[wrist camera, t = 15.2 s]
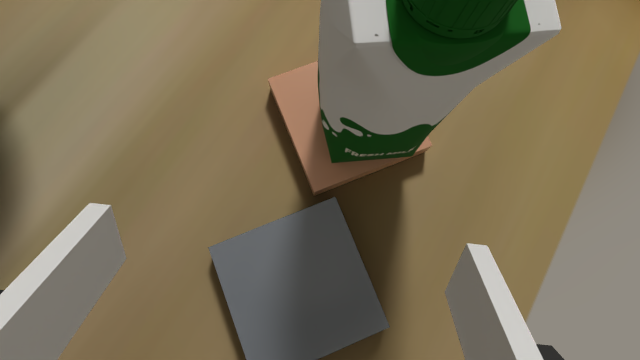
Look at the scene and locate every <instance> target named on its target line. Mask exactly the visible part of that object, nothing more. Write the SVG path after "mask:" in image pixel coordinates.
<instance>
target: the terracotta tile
mask: <svg viewBox="0 0 640 360" xmlns="http://www.w3.org/2000/svg"><path fill="white" fill-rule="evenodd" d="M268 82H269V86H270V89H271V92H272V94H273V97H274V99H275V102H276V104H277V107H278V109H279V112H280V114H281V117H282V119H283V121H284V124H285V126H286V129H287V131H288V134H289V136H290V139H291V141H292V144H293V146H294V148H295V151H296V153H297V156H298V158H299V161H300V163H301V166H302V168H303V171H304V173H305V176H306V178H307V180H308V183H309V185H310V188H311V190H312V193H313V195H314V196H315V195H318V194H320V193H323V192H325V191H328V190H330V189H333V188H336V187H338V186H341V185H343V184H346V183H348V182H351V181H353V180H356V179H358V178H361V177H363V176H366V175H368V174H371V173H373V172H376V171H378V170H381V169H383V168H386V167H388V166H391V165H393V164H396V163H399V162H401V161H404V160H406V159H409V158H411V157H400V158H388V159H376V160H364V161H351V162H339V163H331V158H330V154H329V150H328V146H327V142H326V138H325V134H324V130H323V126H322V119H321V112H320V104H319V94H318V61H316V62H313V63H311V64H308V65H305V66H302V67H299V68H297V69H294V70H291V71H288V72H285V73H282V74H280V75H277V76H274V77H271V78H268ZM431 146H432V143H431V141H430V139H429V137H428V136H427V137H426V139H425V140H424V141H423V143H422V144H421V145H420V147H419V148H418V149H417V151H416V152H415V153H414V155H413V156H412V157H414V156H416V155H419V154H421V153H424V152H426V151H427V150H428V149H429V148H430V147H431Z"/></svg>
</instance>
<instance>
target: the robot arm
mask: <svg viewBox="0 0 640 360" xmlns="http://www.w3.org/2000/svg"><path fill="white" fill-rule="evenodd" d="M125 260H126V256H125V252H124V249H123V245H122V242H121V238H120V235H119V231H118V228H117V225H116V221H115V218H114V214H113V211H112V207H111V205H105V204H95V203H89V204H88V205H87V206H86V207H85V208H84V209H83V210H82V211H81V212H80V213H79V214H78V215H77V216H76V217H75V219H74V220H73V221H72V222H71V223H70V224H69V225H68V226H67V227H66V228H65V229H64V230H63V231H62V232H61V233H60V234H59V235H58V236H57V237H56V238H55V239H54V240H53V241H52V242H51V243H50V244H49V245H48V246H47V247H46V248H45V249H44V250H43V251H42V252H41V253H40V254H39V255H38V256H37V257H36V258H35V260H34V261H33V262H32V263H31V264H30V265H29V266H28V267H27V268H26V269H25V270H24V271H23V272H22V273H21V274H20V275H19V276H18V277H17V278H16V279H15V280H14V281H13V282H12V283H11V284H10V285H9V286H8V287H7V288H6V289H5V290H0V360H57V359H58V358H59V356H60V355H61V353H62V352H63V350H64V349H65V347H66V346H67V345H68V343H69V342H70V340H71V339H72V337H73V336H74V334H75V333H76V331H77V330H78V328H79V327H80V326H81V324H82V323H83V321H84V320H85V318H86V317H87V315H88V314H89V312H90V311H91V309H92V308H93V307H94V305H95V304H96V302H97V301H98V299H99V298H100V296H101V295H102V293H103V292H104V290H105V289H106V287H107V286H108V285H109V283H110V282H111V280H112V279H113V277H114V276H115V274H116V273H117V271H118V270H119V268H120V267H121V266H122V264H123V263H124V261H125ZM445 294H446V298H447V301H448V304H449V307H450V311H451V314H452V317H453V321H454V324H455V327H456V330H457V334H458V337H459V340H460V344H461V347H462V350H463V353H464V357H465V360H564V359H563V358H562V357H561V355H560V354H559V353H558V352H557V351H556V350H555V349H554V348H553V347H552V346H548V345H540V344H539V345H538V344H536V343H535V342H534V339H533V337H532V335H531V334H530V331H529V329H528V327H527V325H526V323H525V321H524V319H523V317H522V315H521V313H520V311H519V309H518V307H517V305H516V303H515V301H514V299H513V297H512V295H511V293H510V291H509V289H508V287H507V285H506V283H505V281H504V279H503V277H502V275H501V273H500V270H499V268H498V266H497V264H496V262H495V260H494V258H493V256H492V254H491V252H490V250H489V248H488V246H487V245H477V244H468V243H467V244H466V246H465V248H464V251H463V253H462V255H461V257H460V259H459V262H458V264H457V266H456V268H455V270H454V273H453V275H452V277H451V279H450V281H449V284H448V286H447V288H446V290H445Z"/></svg>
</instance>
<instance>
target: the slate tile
mask: <svg viewBox="0 0 640 360" xmlns="http://www.w3.org/2000/svg"><path fill="white" fill-rule="evenodd" d="M208 248H209V251H210V254H211V257H212V260H213V263H214V265H215V268H216V271H217V274H218V277H219V280H220V283H221V286H222V289H223V292H224V295H225V298H226V301H227V304H228V307H229V310H230V313H231V316H232V319H233V322H234V325H235V327H236V330H237V333H238V336H239V339H240V342H241V345H242V348H243V351H244V354H245V357H246V360H317V359H320V358H322V357H324V356H326V355H329V354H331V353H333V352H335V351H338V350H340V349H342V348H344V347H346V346H349V345H351V344H353V343H355V342H358V341H360V340H362V339H364V338H367V337H369V336H371V335H373V334H376V333H378V332H380V331H382V330H384V329H387V328H389V327H390V326H389V324H388V321H387V319H386V316H385V314H384V312H383V309H382V307H381V304H380V302H379V300H378V297H377V295H376V293H375V290H374V288H373V285H372V283H371V281H370V278H369V276H368V273H367V271H366V269H365V266H364V264H363V261H362V259H361V257H360V254H359V252H358V250H357V247H356V245H355V242H354V240H353V238H352V235H351V233H350V230H349V228H348V226H347V223H346V221H345V218H344V216H343V214H342V211H341V209H340V207H339V204H338V202H337V199H336V197H333V198H331V199H328V200H326V201H323V202H321V203H318V204H316V205H313V206H311V207H308V208H306V209H303V210H301V211H298V212H296V213H293V214H291V215H288V216H286V217H283V218H281V219H278V220H276V221H273V222H271V223H268V224H266V225H263V226H261V227H258V228H256V229H253V230H251V231H248V232H246V233H243V234H241V235H238V236H236V237H233V238H231V239H228V240H226V241H223V242H221V243H218V244H216V245H213V246H211V247H208Z"/></svg>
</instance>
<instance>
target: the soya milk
mask: <svg viewBox="0 0 640 360" xmlns="http://www.w3.org/2000/svg"><path fill="white" fill-rule="evenodd" d="M560 30H561V24H560V20H559V15H558V11H557V7H556V3H555V0H321V8H320V26H319V52H318V94H319V104H320V112H321V119H322V126H323V130H324V134H325V138H326V142H327V146H328V150H329V154H330V158H331V163H339V162H351V161H364V160H376V159H388V158H400V157H412V156H413V155H414V153H415V152H416V151H417V149H418V148H419V147H420V145H421V144H422V143H423V141H424V140H425V139H426V137H427V136H428V135H429V133H430V132H431V131H432V130H433V129H434V128H435V127H436V126H437V125H438V124H439V123H440V122H441V121H442V120H443V119H444V118H445V117H446V116H447V115H448V114H449V113H450V112H451V111H452V110H453V109H454V108H455V107H456V106H457V105H458V104H459V103H460V102H461V101H462V100H463V99H464V98H465V97H466V96H467V95H468V94H469V93H470V92H471V91H472V90H473V89H474V88H475V87H476V86H478V85H479V84H481V83H482V82H484V81H485V80H487V79H488V78H490V77H491V76H493V75H495V74H496V73H498V72H499V71H501V70H502V69H504V68H505V67H507V66H509V65H510V64H512V63H513V62H515V61H516V60H518V59H520V58H521V57H523V56H524V55H526V54H527V53H529V52H530V51H532V50H534V49H535V48H537V47H538V46H540V45H541V44H543V43H545V42H546V41H548V40H549V39H551V38H553V37H554V36H556V35H557V34H558V33H559V31H560Z"/></svg>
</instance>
